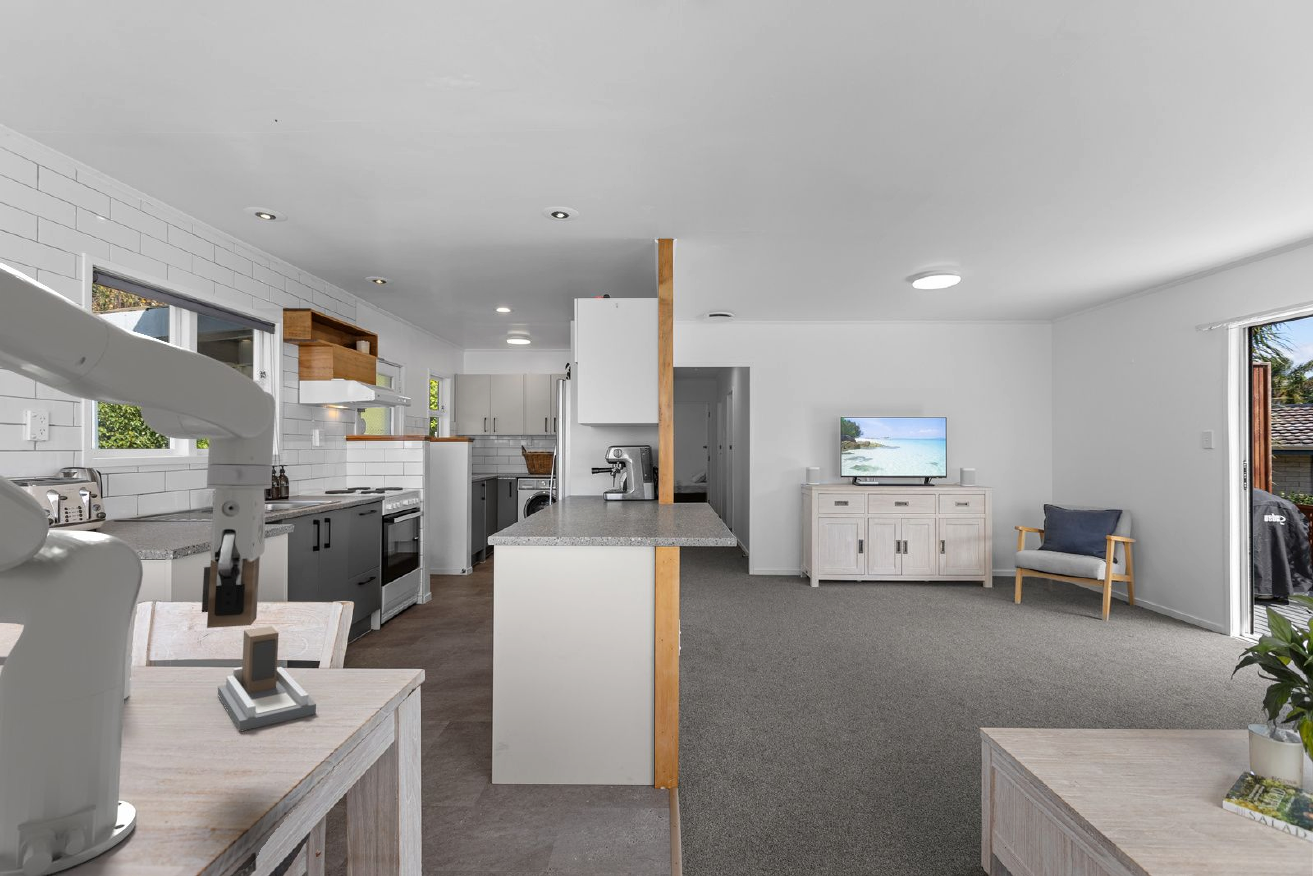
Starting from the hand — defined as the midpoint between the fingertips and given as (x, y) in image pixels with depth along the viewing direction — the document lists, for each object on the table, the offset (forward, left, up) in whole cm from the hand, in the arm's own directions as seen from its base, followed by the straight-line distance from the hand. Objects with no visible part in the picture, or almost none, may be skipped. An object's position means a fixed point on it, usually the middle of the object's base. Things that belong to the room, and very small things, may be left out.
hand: (233, 609), depth 87 cm
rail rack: (+13, -7, -18) cm, 24 cm away
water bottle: (+31, +13, -19) cm, 39 cm away
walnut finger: (0, 0, -2) cm, 2 cm away
